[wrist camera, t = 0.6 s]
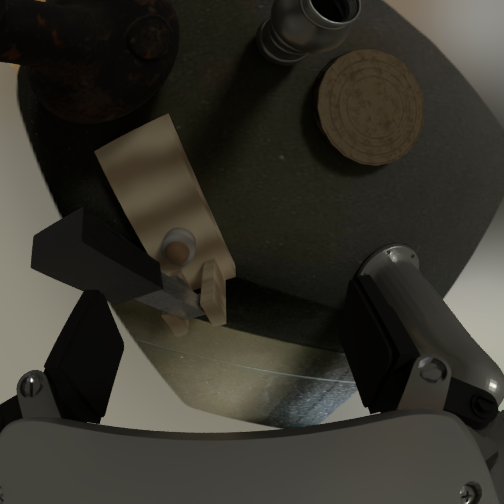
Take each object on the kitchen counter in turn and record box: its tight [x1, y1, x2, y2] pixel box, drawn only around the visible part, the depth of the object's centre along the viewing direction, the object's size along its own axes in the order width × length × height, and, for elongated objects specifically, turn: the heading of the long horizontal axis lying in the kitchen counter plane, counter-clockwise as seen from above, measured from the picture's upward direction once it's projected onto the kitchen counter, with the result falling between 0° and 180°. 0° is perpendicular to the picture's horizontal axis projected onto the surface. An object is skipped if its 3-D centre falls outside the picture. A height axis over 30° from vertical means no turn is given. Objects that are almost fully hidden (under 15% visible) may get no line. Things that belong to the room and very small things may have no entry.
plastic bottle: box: [256, 0, 361, 66], centre depth 21 cm, size 6×7×20 cm
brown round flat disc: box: [312, 49, 425, 166], centre depth 33 cm, size 16×16×3 cm
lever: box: [31, 207, 206, 320], centre depth 26 cm, size 23×5×3 cm
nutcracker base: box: [94, 114, 236, 337], centre depth 35 cm, size 24×10×12 cm, turn 19°
